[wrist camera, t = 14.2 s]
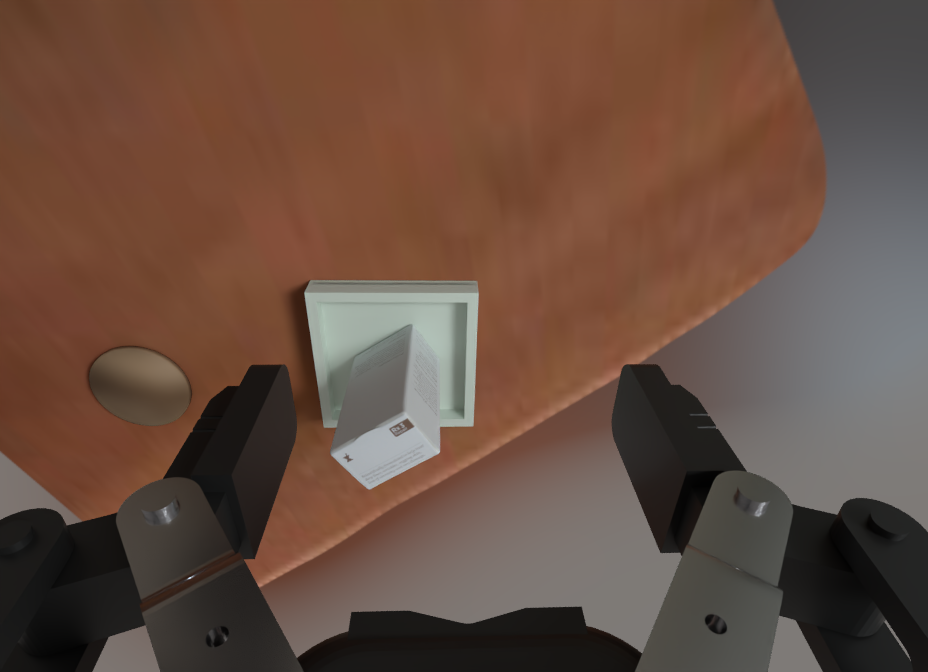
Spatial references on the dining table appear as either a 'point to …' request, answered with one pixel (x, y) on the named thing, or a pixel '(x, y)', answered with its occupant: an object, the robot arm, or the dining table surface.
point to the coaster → (140, 385)
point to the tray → (382, 315)
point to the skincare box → (390, 409)
